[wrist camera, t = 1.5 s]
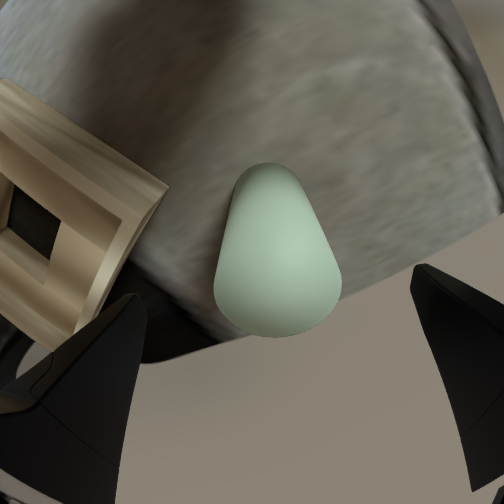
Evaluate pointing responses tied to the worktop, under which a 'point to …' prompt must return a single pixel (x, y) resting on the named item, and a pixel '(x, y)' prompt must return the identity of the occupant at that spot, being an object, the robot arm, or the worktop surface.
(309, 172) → the worktop surface
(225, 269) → the peg
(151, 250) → the worktop surface
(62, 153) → the open-top box
